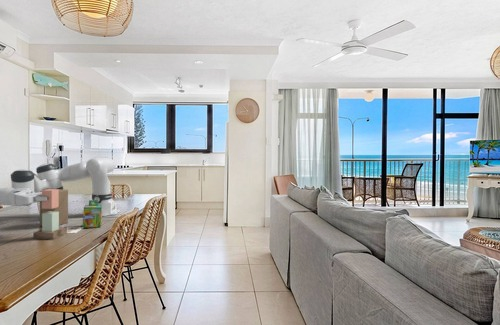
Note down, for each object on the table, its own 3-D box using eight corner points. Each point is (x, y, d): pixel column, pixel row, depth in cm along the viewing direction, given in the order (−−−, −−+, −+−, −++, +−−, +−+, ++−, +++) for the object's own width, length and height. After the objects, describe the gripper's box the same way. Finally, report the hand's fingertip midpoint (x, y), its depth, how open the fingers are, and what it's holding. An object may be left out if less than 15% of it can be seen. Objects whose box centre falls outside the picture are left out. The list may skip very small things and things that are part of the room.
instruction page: (67, 227, 168) (67, 227, 168) (84, 227, 169) (84, 226, 169) (57, 233, 156) (57, 232, 156) (75, 233, 157) (75, 232, 157)
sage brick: (49, 228, 153) (49, 211, 153) (58, 229, 153) (58, 211, 152) (42, 231, 148) (42, 213, 148) (52, 231, 148) (52, 213, 147)
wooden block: (54, 226, 169) (54, 191, 168) (39, 225, 171) (39, 190, 170) (68, 223, 179) (68, 189, 178) (54, 221, 181) (54, 189, 180)
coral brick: (49, 206, 153) (49, 189, 152) (58, 207, 152) (58, 189, 152) (41, 208, 148) (41, 190, 147) (51, 208, 147) (51, 190, 147)
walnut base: (47, 233, 156) (47, 227, 155) (66, 233, 155) (66, 228, 155) (33, 238, 146) (33, 232, 145) (53, 239, 145) (53, 233, 145)
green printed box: (82, 228, 166) (83, 201, 166) (84, 224, 174) (85, 199, 174) (101, 227, 170) (101, 201, 169) (101, 223, 178) (102, 199, 178)
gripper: (40, 200, 161) (65, 200, 160) (8, 206, 140) (37, 207, 140) (40, 188, 161) (65, 189, 160) (8, 193, 140) (37, 194, 140)
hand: (52, 197), depth 150 cm, fingers closed on coral brick, 5 cm apart
